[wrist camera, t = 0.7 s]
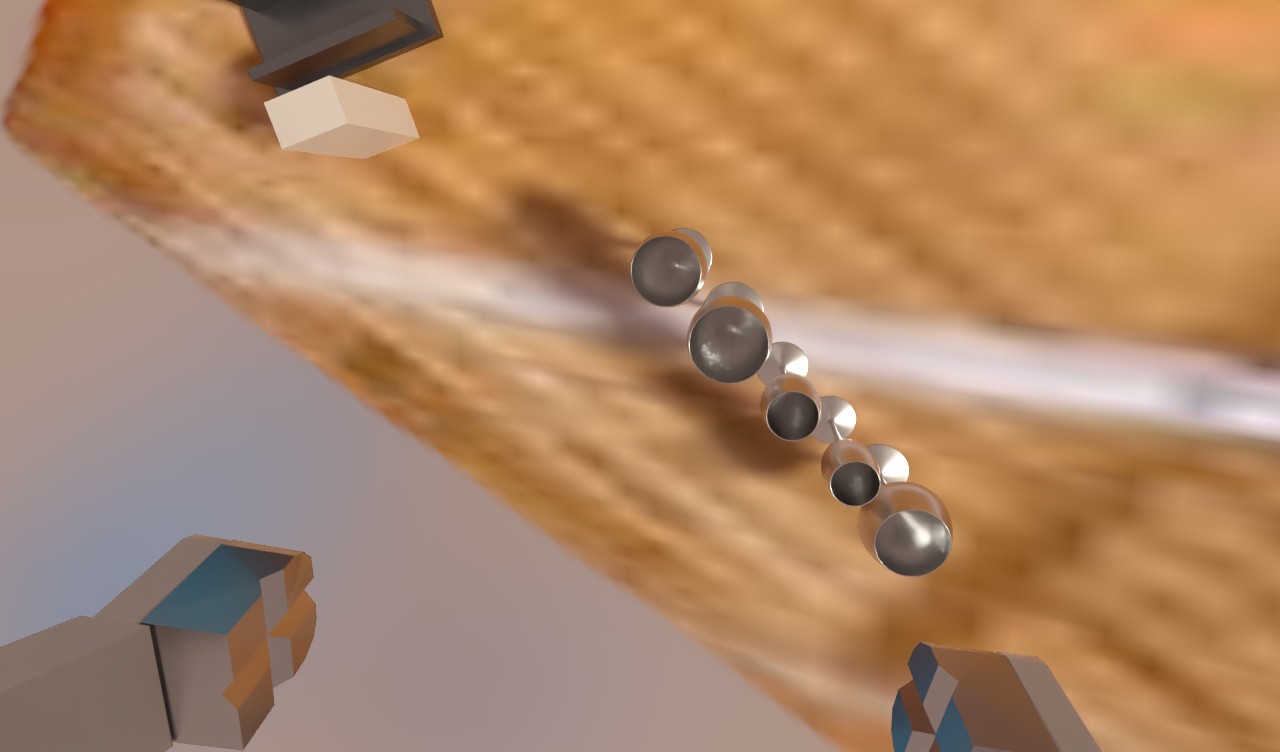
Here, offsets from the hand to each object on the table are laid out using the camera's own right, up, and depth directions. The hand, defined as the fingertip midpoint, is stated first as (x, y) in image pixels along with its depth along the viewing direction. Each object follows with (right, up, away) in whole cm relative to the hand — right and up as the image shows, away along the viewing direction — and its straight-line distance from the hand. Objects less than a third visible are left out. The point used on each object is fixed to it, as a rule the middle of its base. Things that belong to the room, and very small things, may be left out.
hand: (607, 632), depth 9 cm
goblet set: (+12, +4, +44) cm, 46 cm away
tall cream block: (-19, +23, +44) cm, 54 cm away
